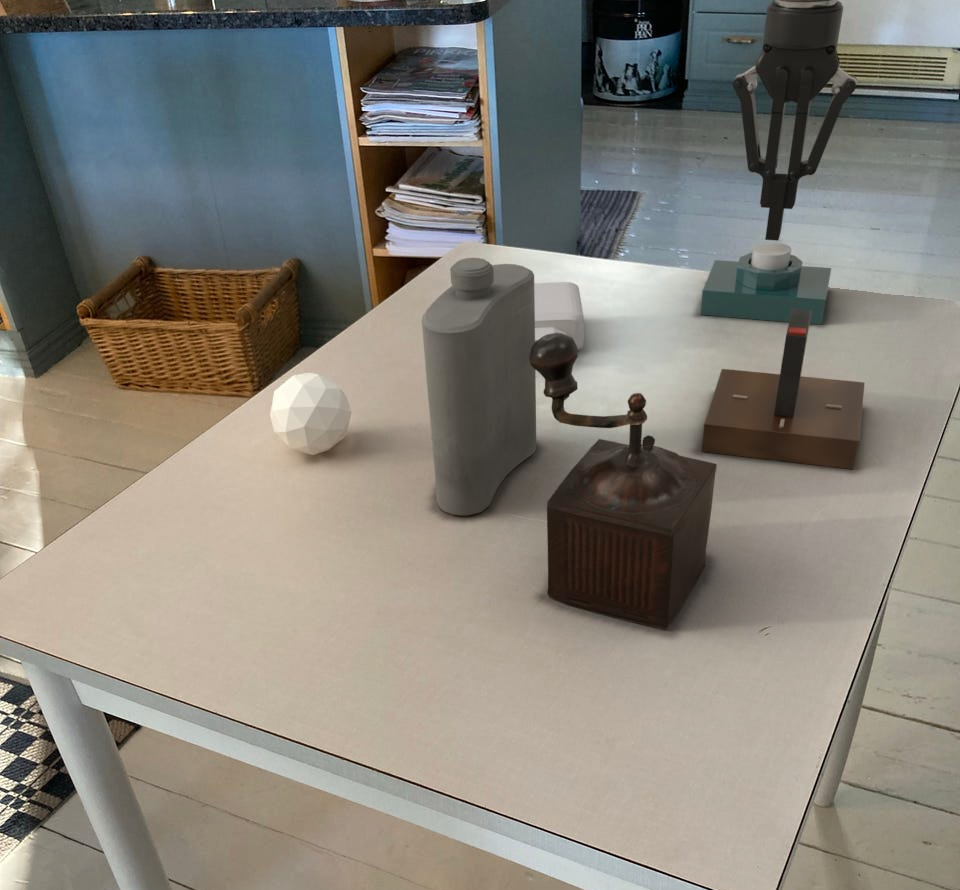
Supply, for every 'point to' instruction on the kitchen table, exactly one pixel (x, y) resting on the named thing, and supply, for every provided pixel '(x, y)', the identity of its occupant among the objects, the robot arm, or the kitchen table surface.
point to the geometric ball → (310, 413)
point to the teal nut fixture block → (764, 290)
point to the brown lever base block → (785, 420)
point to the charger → (558, 310)
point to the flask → (480, 381)
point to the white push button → (771, 256)
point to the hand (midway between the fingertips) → (772, 236)
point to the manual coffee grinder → (622, 511)
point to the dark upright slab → (792, 362)
